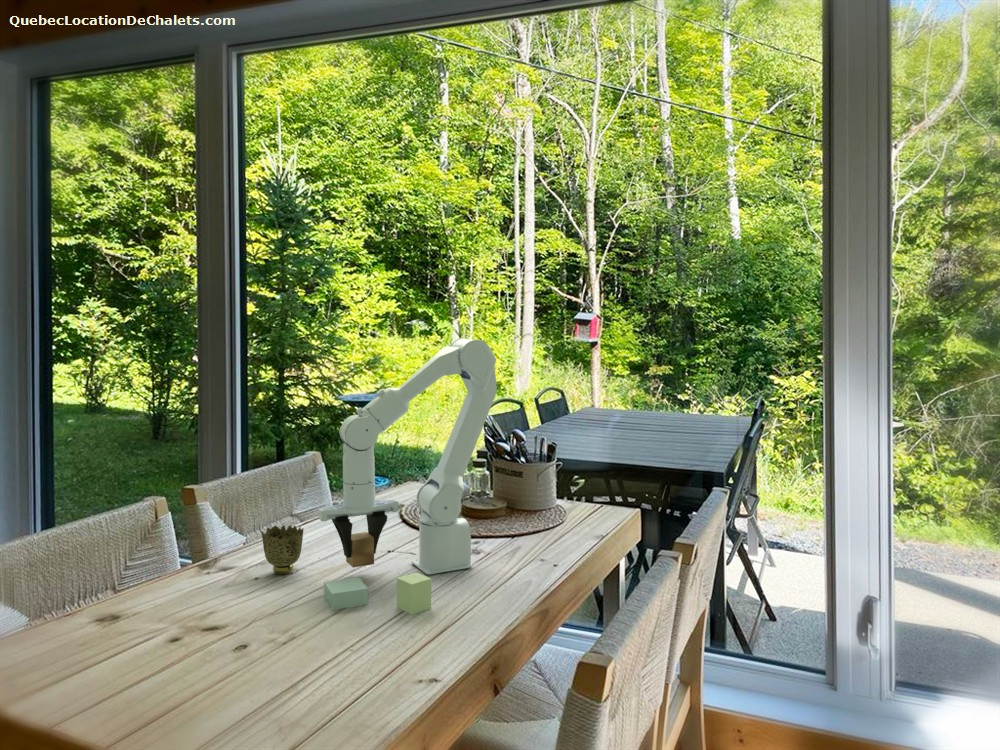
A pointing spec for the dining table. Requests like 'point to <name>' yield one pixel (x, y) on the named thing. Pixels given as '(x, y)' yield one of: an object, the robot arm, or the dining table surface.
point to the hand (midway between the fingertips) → (360, 554)
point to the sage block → (413, 593)
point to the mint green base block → (345, 593)
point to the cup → (282, 547)
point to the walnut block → (361, 550)
